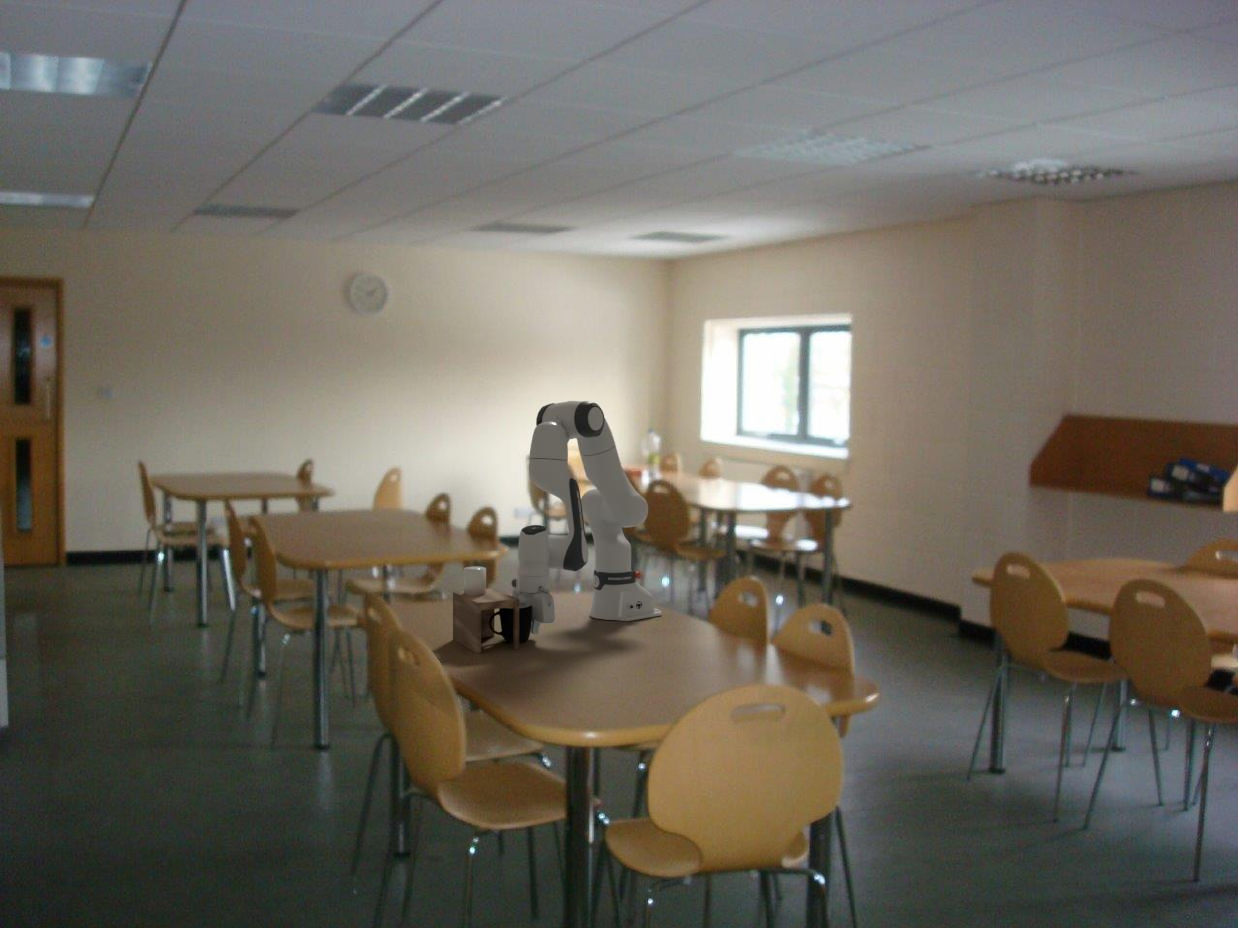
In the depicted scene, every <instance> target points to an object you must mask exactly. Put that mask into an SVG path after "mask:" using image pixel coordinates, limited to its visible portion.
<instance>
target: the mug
mask: <svg viewBox="0 0 1238 928" xmlns="http://www.w3.org/2000/svg"><path fill="white" fill-rule="evenodd" d="M526 603H527V602H526ZM496 616H499V620H500V629H501V631H497V630H496V629H495V628H494V629H493V628H492V619H493V618H494V619H495V617H496ZM531 622H532V604H531V605H530V606H527V607H525V602H519V644H523V643H526V642H528V640H529V638H530V636H531V633H530V631H531ZM489 627H490V629H491V631H492V632H494V635H498V636H500V637H501V636H502V637H503V640H504V642H506V643H508V644H513V607H510V608H499V610H498V611H495V612H494V614H493V615H492V616H491V618H490V620H489Z"/></svg>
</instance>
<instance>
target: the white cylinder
mask: <svg viewBox="0 0 1238 928" xmlns="http://www.w3.org/2000/svg"><path fill="white" fill-rule="evenodd" d="M486 589H487V567H484V566H466V567H464V568H463V591H464V594H465V595H484V594H486Z"/></svg>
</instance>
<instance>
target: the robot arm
mask: <svg viewBox="0 0 1238 928" xmlns="http://www.w3.org/2000/svg"><path fill="white" fill-rule="evenodd" d="M604 414H605V413H604V411H603V409H602V408H601V407H600V405H599V404H598V403H596V402H595V401H594V402H593V401H590V400H581V401H579V400H568V401H564V402H563V401H561V402H557V403H555V402H553V403H548V404H545V405H543V406H542V407H541V408H540V409H539V411H538V413H537V415H536V421H535V423H536V427H535V428H534V430H533V434H532V438H531V443H530V450H529V461H528V462H529V463H528V472H529V473H528V474H529V477H530V480H531V482H532V483H533V484H534V486H536V487H537V488H538V489H540V490H542V491H543V492H546V493H547V494H550V495H552V496H555V497H556V498H558V499H559V500H561V502H563V505H564V506H565V510H566V511H565V512H566V519H567V520H566V521H567V528H568V534H566V535H563V534H562V535H561V534H559V535H558V534H549V531H548V527H546V526H545V525H541V524H531V525H526V526H524V527H523V528H522V529H521V530H520V533H519V538H518V548H517V549H518V550H517V560H518V563H519V564H518V566H519V568H518V570H517V576H516V577H515V578H512V579H511V580H510V586H511V587H512V592H511V593H512V594H511V596H513V597H515V598H517V599H519V602H525V607H527V606H530V605H531V604H532V622H531V631H530V634H533V635H538V634H539V631H540V630H539V629H540V625H541V624H552V623H554V621H555V619H556V617H555V616H556V615H555V614H556V613H555V600H554V597H553V595H552V594H551V593H550V569H553V570H554V569H555V570H564V571H571V572H578V571H579V570H581V569H582V568H584V566H586V565H587V564H588V561H589V556H590V555H589V546H588V541H587V537H586V530H585V523H584V522H585V521H584V518H585V520H586V521H587V523H588V525H589V528H590V530H591V535H592V539H593V543H594V544H593V545H594V570H593V581H592V582H593V596H592V597H593V598H592V603H591V608H590V612H589V614H588V615H589V617H591V618H593V619H599V620H605V621H606V620H607V621H609V620H610V621H621V622H630V621H635V620H636V621H637V620H642V619H647V618H654V617H660V616H662V611H661V610H660V609H658V608H656V607H655V601H654V597H653V595H652V592H651V593H650V592H649V591H648V590H647V589H646V588H644V587H643V586H642V585H641V584H639V582H637V581H636V580H637V579H639V580H640V579H642V578H643V574H642V572H641V571H640V572H639V571H634V570H633V569H632V545H631V543H630V542H629V540H628V539H627V538H626V536H625V534H624V532H623V529H622V528H624V529H625V528H633V527H639V526H641V525H642V524H643V523H645V521H646V519H648V518H647V517H648V514H649V505H648V502H647V500H646V498H644V496H642V495H641V494H640V493H639V492H638V491H637V490H636V489H635V487H634V486H633V484H632V483H631V481H630V479H629V478H628V476H627V475H626V473H625V471H624V469H623V467H622V462H621V460H620V457H619V453H618V450H617V449H618V448H617V445H616V441H615V439H614V436H613V433H612V430H611V428H610V426H609V424H608V423H609V422H608V421H607V419H606V418H605V415H604ZM573 439H576V443H577V446H578V451H579V455H580V458H581V462H582V466H583V469H584V474H585V476H586V479H587V480H588V481H589V482H590V483H592V485H594V487H595V488H593V489H589V490H587V491H585V492H584V493H583V495H582V496H581V492H580V488H579V484H578V482H577V480H576V479H575V478H573V477H572V476H571V473H570V471H569V465H568V461H569V448H568V444H569V441H570V440H573ZM526 602H527V603H526Z"/></svg>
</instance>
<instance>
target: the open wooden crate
mask: <svg viewBox="0 0 1238 928" xmlns="http://www.w3.org/2000/svg"><path fill="white" fill-rule="evenodd" d="M510 607H513V643H512V648H513V649H514V650H517V649H518V650H519V649H520V643H519V599H517V598H515V597H513V596H512V595H510V594H507V593H505V592H502V591H501V590H498V589H496V588H486V594H484V595H465V594H464V590H459V591H458V590H457V591H456V590H455V591H453V592H452V640H453V641H454V642H455V643H458V644H460V645H462V646H463V647H465V648H467V649H469V650H470V651H473V652H474V653H476V654H481V653H482V638H488V637H489V638H491V637H492V638H493V637H495V633H494V632H492V631H491V629H490V627H489V620H490V618H491V616H492V615H493V614H494V613H495V610H496V609H499V608H510ZM492 628H493V629H494V630H495V617H494V618H493V619H492Z"/></svg>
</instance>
